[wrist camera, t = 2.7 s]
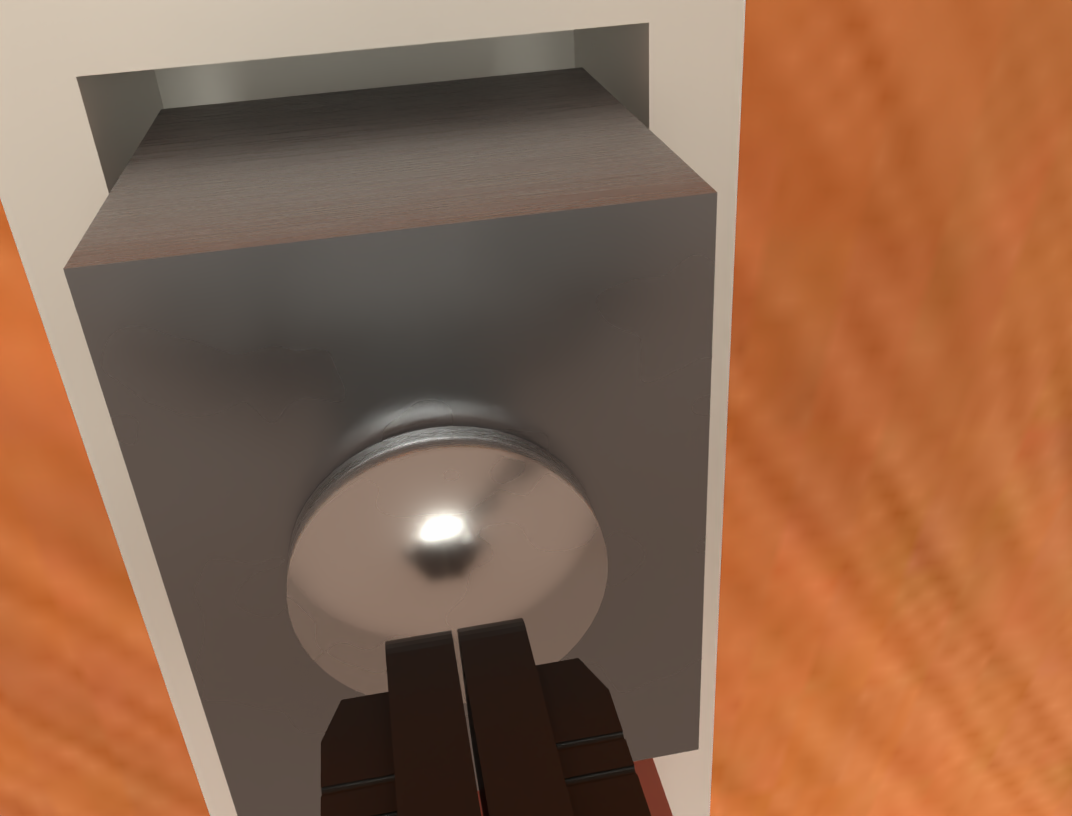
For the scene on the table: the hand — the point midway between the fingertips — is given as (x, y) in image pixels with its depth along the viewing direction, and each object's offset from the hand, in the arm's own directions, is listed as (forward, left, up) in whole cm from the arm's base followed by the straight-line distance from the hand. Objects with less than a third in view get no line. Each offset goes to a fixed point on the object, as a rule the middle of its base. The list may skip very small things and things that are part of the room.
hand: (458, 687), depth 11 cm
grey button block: (0, 0, -9) cm, 9 cm away
